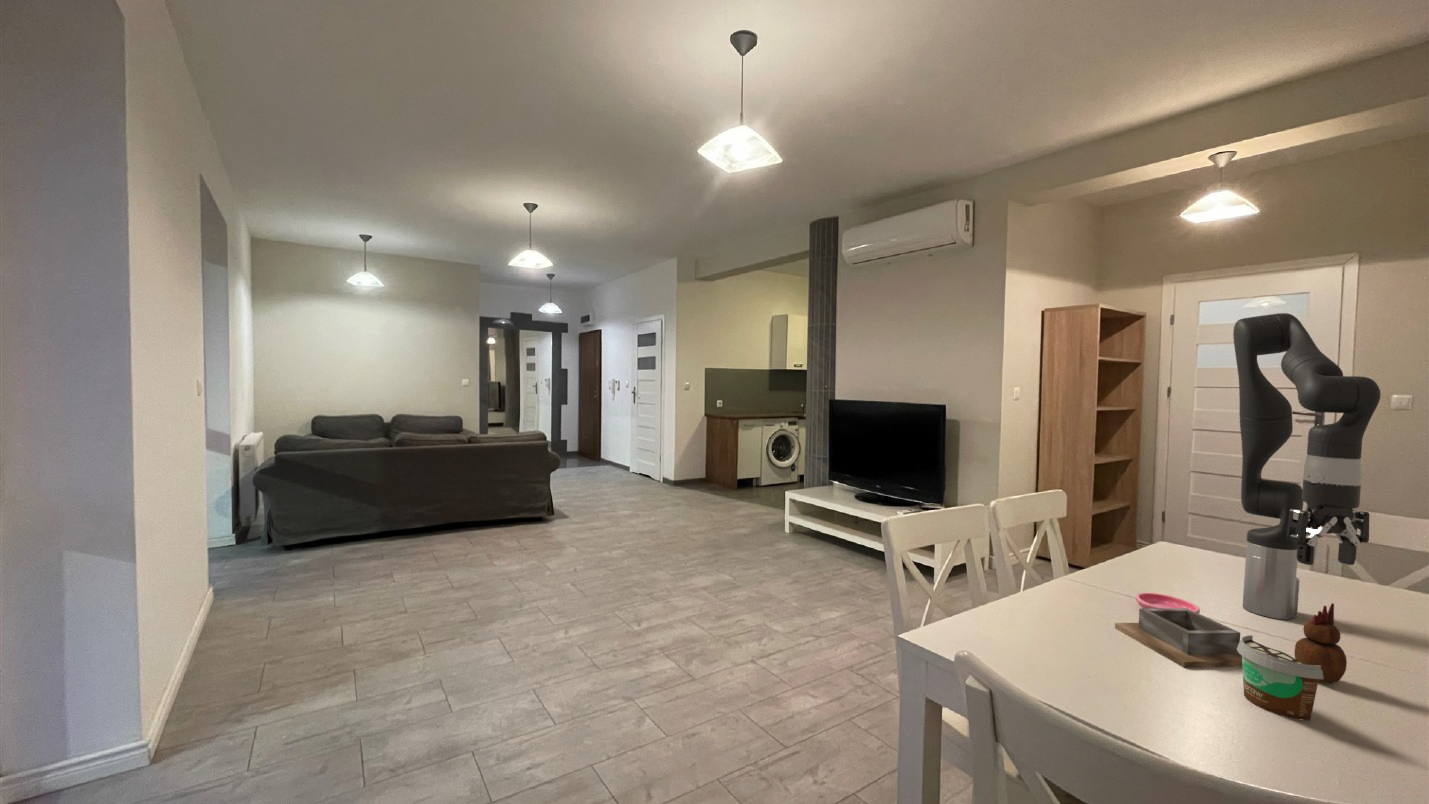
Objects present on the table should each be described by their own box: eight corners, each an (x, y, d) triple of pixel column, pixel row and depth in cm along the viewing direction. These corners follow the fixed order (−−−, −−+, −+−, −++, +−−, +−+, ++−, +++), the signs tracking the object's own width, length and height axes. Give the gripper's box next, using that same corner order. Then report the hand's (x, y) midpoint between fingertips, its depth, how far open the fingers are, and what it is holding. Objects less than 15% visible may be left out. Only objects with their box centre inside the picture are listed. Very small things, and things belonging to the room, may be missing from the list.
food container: (1215, 686, 107) (1219, 634, 107) (1245, 685, 108) (1249, 633, 107) (1287, 726, 95) (1291, 668, 94) (1320, 725, 95) (1324, 667, 95)
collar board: (1187, 627, 133) (1189, 603, 133) (1267, 666, 115) (1269, 638, 115) (1114, 628, 132) (1116, 603, 132) (1184, 667, 114) (1185, 639, 114)
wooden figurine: (1330, 675, 112) (1335, 600, 111) (1351, 690, 107) (1357, 611, 106) (1286, 668, 114) (1291, 595, 114) (1305, 683, 109) (1310, 606, 108)
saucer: (1175, 605, 147) (1176, 593, 147) (1212, 626, 134) (1213, 613, 134) (1124, 602, 148) (1124, 590, 148) (1156, 623, 136) (1157, 610, 136)
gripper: (1342, 477, 113) (1337, 557, 114) (1276, 476, 112) (1270, 557, 113) (1390, 484, 106) (1383, 570, 106) (1319, 483, 105) (1313, 570, 105)
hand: (1325, 563), depth 110 cm, fingers open, 8 cm apart
